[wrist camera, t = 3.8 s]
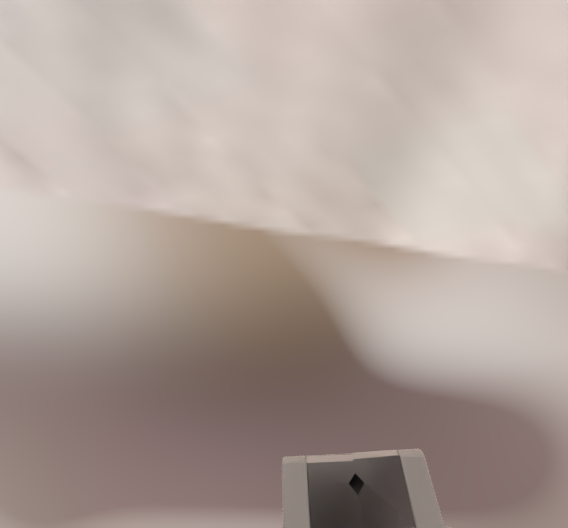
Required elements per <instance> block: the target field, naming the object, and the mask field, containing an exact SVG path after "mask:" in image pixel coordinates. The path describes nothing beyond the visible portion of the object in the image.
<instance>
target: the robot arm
mask: <svg viewBox="0 0 568 528" xmlns="http://www.w3.org/2000/svg"><path fill="white" fill-rule="evenodd" d="M306 457H307V463H306ZM282 501H283V528H452V527H445V526H444V523H443V519H442V516H441V512H440V509H439V505H438V502H437V498H436V495H435V491H434V488H433V484H432V481H431V477H430V474H429V470H428V467H427V464H426V460H425V456H424V454H423V453H422V451H421V450H420V449H410V450H409V449H408V450H386V451H373V452H360V453H351V454H334V455H314V456H291V457H283V462H282Z"/></svg>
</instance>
